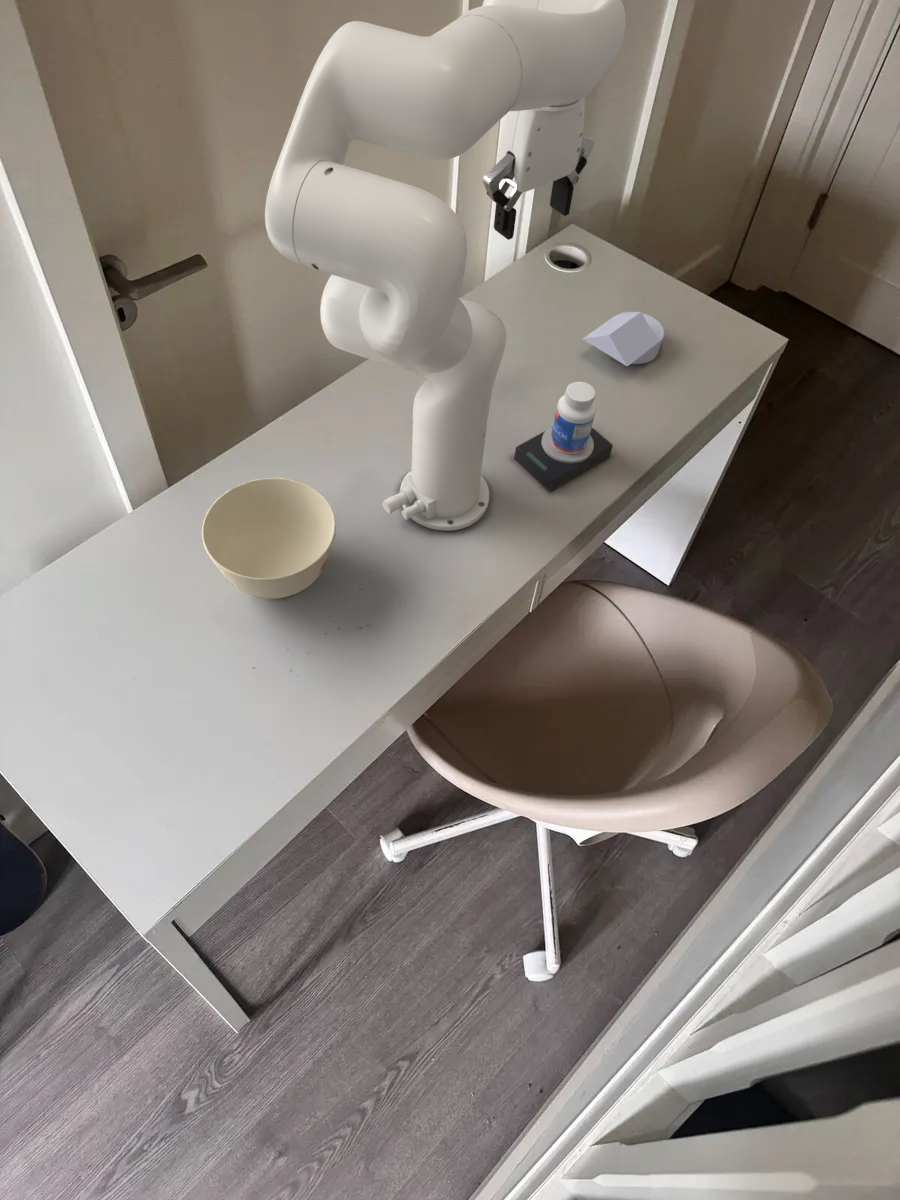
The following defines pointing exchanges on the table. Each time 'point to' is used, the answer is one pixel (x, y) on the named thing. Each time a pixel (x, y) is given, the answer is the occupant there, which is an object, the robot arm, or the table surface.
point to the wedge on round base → (628, 337)
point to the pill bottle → (574, 418)
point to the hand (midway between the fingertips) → (531, 222)
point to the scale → (560, 458)
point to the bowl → (270, 536)
